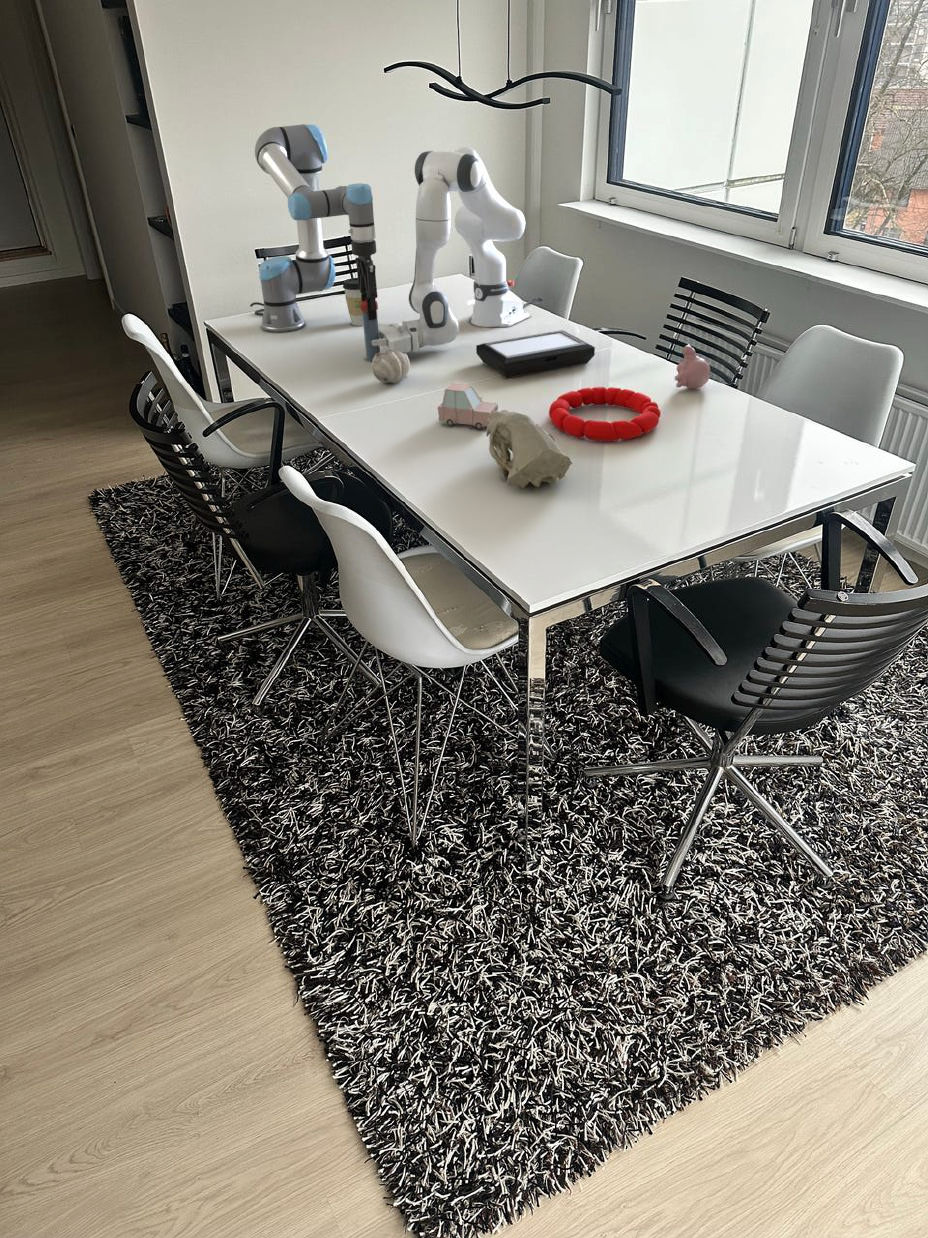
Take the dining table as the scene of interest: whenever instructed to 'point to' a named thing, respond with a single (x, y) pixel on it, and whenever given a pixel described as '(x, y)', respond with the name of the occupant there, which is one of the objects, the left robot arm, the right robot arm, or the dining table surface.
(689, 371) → the figurine
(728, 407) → the dining table surface
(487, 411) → the toy car
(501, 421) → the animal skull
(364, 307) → the lid
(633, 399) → the decorative ring
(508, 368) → the electronic device
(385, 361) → the seashell
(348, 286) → the coffee cup
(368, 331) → the jar
